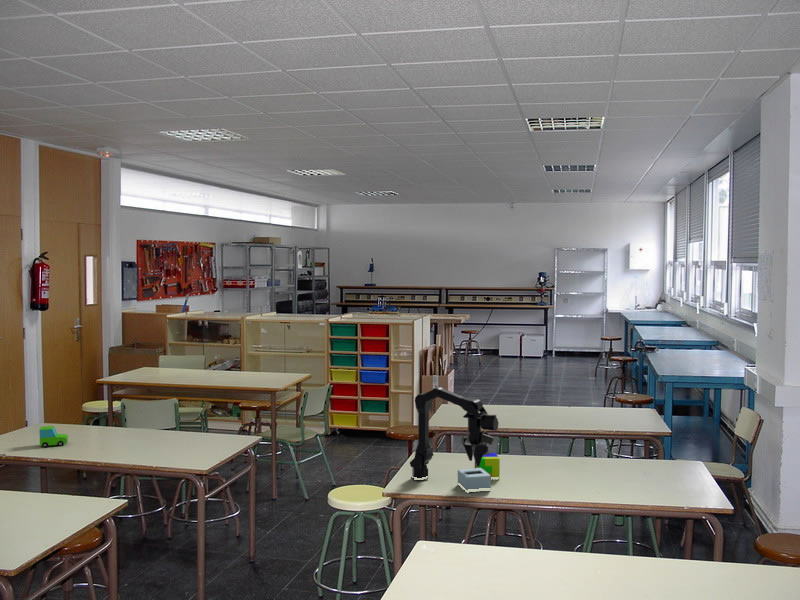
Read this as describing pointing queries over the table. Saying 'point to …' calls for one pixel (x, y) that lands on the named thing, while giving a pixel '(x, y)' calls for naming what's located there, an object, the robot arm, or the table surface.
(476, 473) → the money box
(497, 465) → the puzzle toy
